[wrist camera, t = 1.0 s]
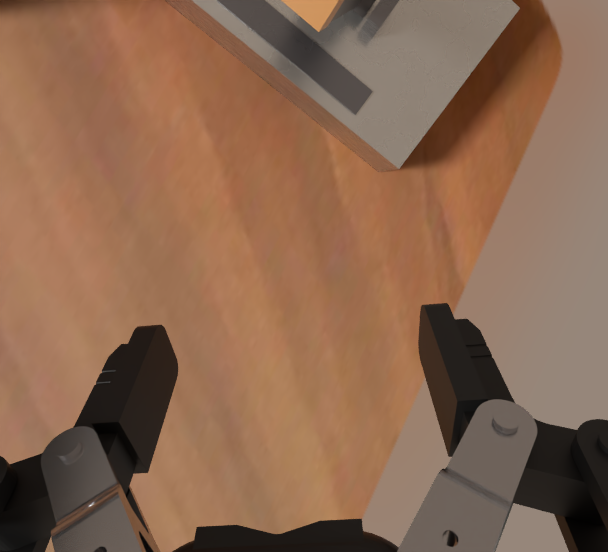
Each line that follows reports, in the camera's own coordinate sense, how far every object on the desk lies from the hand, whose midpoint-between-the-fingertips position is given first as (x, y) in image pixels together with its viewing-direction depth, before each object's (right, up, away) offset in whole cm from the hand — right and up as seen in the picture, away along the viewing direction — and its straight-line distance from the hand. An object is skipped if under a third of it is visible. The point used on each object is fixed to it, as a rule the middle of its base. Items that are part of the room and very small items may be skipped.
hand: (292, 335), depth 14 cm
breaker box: (+2, +23, +22) cm, 32 cm away
